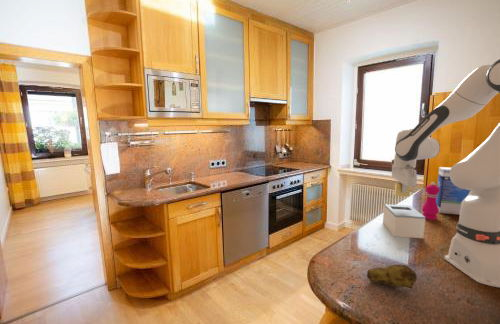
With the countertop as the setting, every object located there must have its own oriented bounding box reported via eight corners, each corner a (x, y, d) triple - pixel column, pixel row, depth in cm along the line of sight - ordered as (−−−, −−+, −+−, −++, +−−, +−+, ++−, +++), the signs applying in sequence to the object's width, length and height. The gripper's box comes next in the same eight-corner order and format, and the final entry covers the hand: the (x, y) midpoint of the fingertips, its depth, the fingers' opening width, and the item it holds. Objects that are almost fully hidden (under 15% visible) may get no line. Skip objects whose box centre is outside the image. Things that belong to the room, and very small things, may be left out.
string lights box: (461, 211, 145) (467, 168, 141) (467, 215, 138) (473, 170, 134) (434, 208, 149) (438, 166, 146) (438, 212, 142) (443, 168, 139)
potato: (375, 272, 86) (376, 250, 85) (418, 291, 76) (420, 267, 75) (363, 282, 81) (365, 259, 79) (408, 303, 71) (411, 278, 70)
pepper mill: (432, 215, 138) (436, 180, 135) (440, 220, 131) (445, 183, 128) (418, 215, 139) (422, 180, 136) (426, 220, 132) (430, 183, 129)
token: (409, 196, 119) (410, 184, 118) (395, 195, 120) (396, 183, 119) (407, 195, 121) (408, 183, 120) (394, 194, 122) (395, 182, 121)
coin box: (423, 238, 111) (425, 217, 109) (393, 236, 113) (395, 215, 112) (408, 224, 126) (410, 205, 125) (382, 222, 129) (384, 204, 127)
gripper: (422, 167, 107) (419, 198, 109) (403, 160, 127) (401, 186, 129) (406, 166, 109) (403, 197, 111) (390, 160, 128) (388, 185, 130)
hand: (402, 191), depth 120 cm, fingers closed on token, 2 cm apart
